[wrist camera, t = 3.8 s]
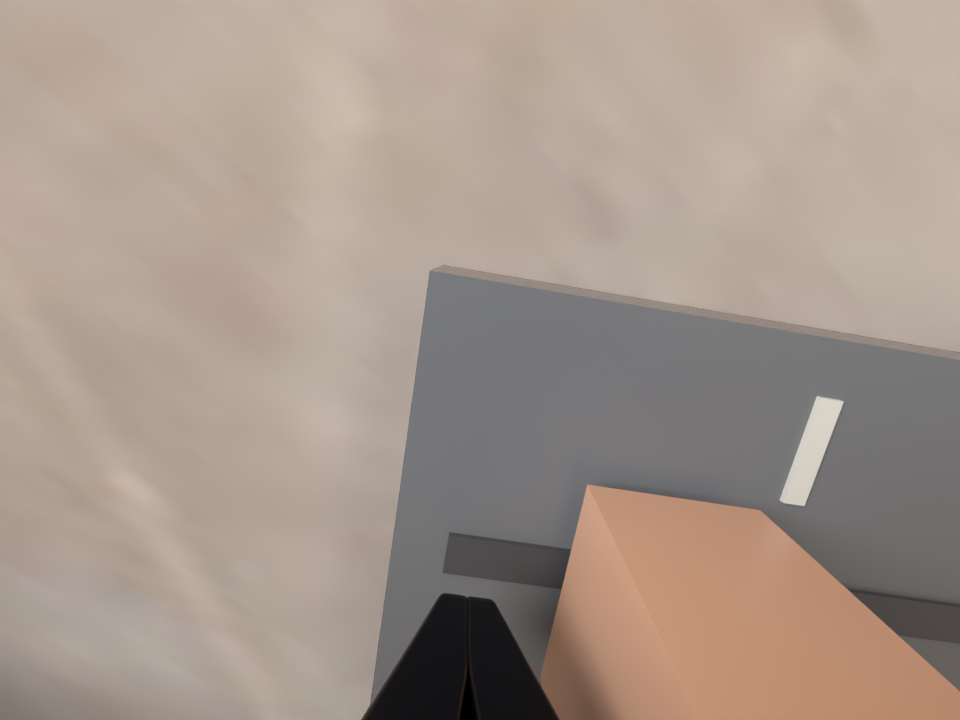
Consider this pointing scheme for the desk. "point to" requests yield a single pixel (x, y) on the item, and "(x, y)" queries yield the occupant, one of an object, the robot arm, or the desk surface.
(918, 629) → the fader console
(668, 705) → the terracotta fader
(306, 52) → the desk surface
